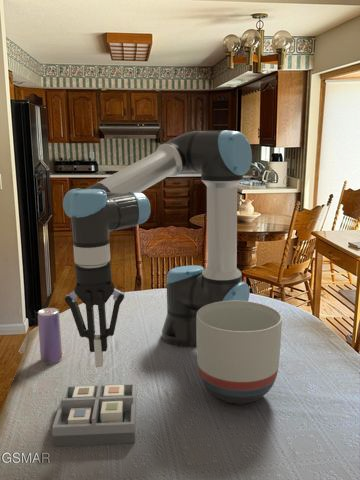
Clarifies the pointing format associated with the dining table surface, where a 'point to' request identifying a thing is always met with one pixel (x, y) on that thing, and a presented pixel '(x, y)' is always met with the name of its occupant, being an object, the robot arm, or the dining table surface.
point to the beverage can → (49, 335)
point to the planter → (238, 349)
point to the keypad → (95, 418)
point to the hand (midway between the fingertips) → (99, 364)
